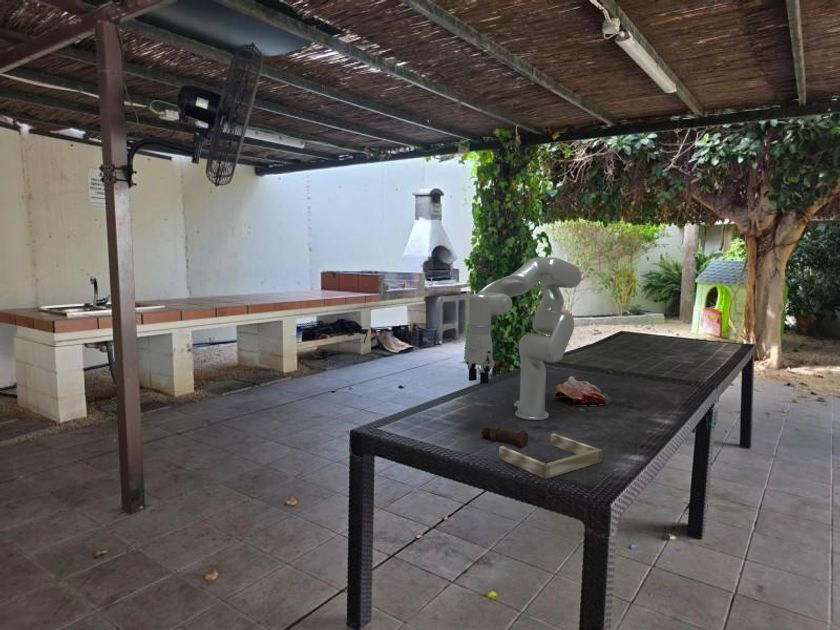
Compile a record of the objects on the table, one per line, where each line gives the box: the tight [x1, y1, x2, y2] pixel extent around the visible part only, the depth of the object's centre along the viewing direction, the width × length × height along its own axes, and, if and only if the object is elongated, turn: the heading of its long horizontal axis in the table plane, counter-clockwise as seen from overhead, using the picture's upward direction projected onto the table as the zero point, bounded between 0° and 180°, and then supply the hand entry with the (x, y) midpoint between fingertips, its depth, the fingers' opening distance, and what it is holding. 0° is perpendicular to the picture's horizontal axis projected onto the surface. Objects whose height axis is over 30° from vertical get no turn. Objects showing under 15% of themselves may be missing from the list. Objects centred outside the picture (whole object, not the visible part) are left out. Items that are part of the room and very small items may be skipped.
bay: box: [498, 433, 603, 480], centre depth 159 cm, size 18×24×4 cm
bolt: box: [481, 426, 529, 448], centre depth 175 cm, size 6×5×15 cm
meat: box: [554, 375, 607, 407], centre depth 229 cm, size 21×21×10 cm
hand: (478, 381), depth 185 cm, fingers open, 5 cm apart
